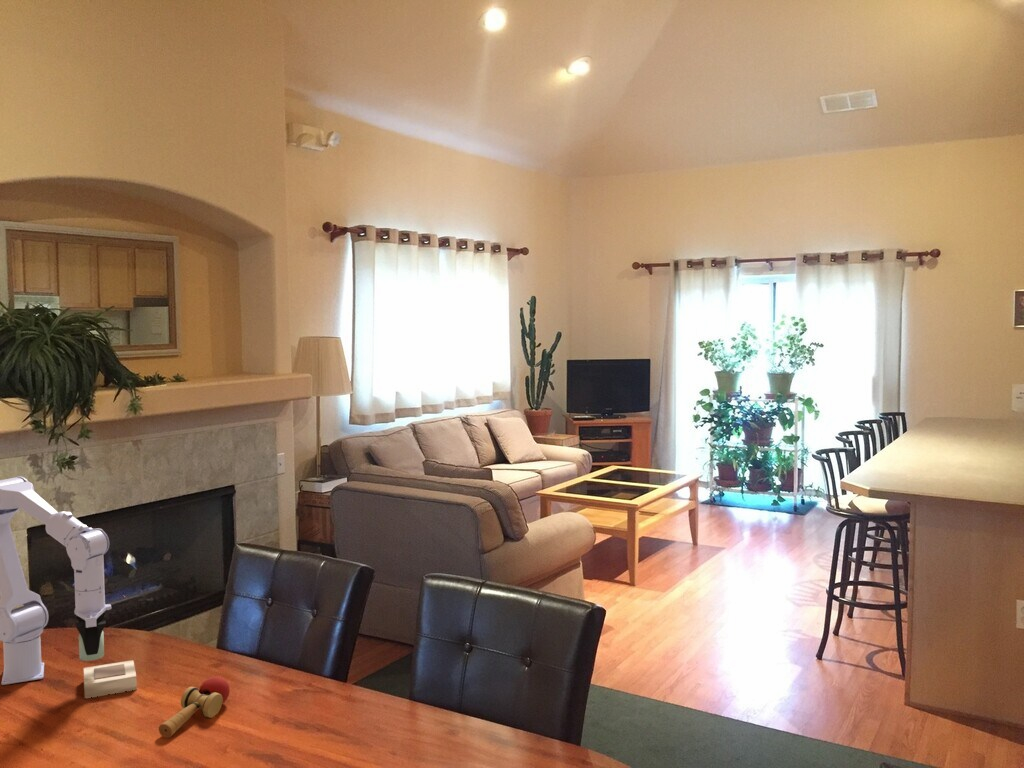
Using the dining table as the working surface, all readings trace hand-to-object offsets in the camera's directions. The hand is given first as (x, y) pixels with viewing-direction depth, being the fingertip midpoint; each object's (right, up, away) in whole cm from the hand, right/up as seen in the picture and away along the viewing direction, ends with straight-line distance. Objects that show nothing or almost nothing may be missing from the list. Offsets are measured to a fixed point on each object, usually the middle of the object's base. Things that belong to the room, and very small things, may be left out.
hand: (91, 649), depth 188 cm
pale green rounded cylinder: (0, -1, 0) cm, 1 cm away
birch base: (+3, -8, +2) cm, 9 cm away
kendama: (+27, -10, -13) cm, 32 cm away
